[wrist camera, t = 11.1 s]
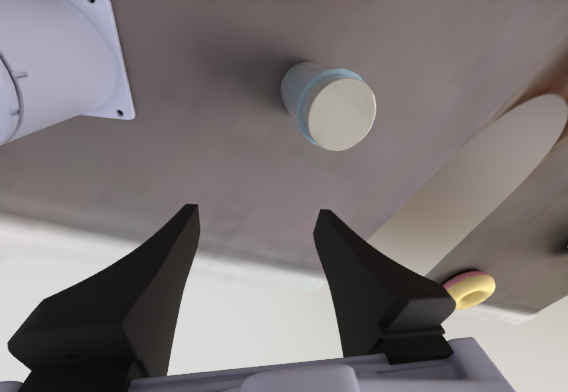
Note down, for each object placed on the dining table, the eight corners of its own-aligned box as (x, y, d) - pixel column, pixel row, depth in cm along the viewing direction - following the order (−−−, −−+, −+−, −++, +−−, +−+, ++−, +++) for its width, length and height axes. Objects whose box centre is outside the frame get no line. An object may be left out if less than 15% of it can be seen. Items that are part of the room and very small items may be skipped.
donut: (478, 269, 45) (468, 258, 39) (503, 287, 41) (497, 279, 36) (440, 300, 47) (426, 294, 42) (462, 320, 43) (449, 317, 38)
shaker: (277, 113, 20) (295, 152, 12) (284, 57, 17) (312, 63, 10) (322, 119, 20) (365, 159, 13) (335, 66, 18) (396, 78, 11)
